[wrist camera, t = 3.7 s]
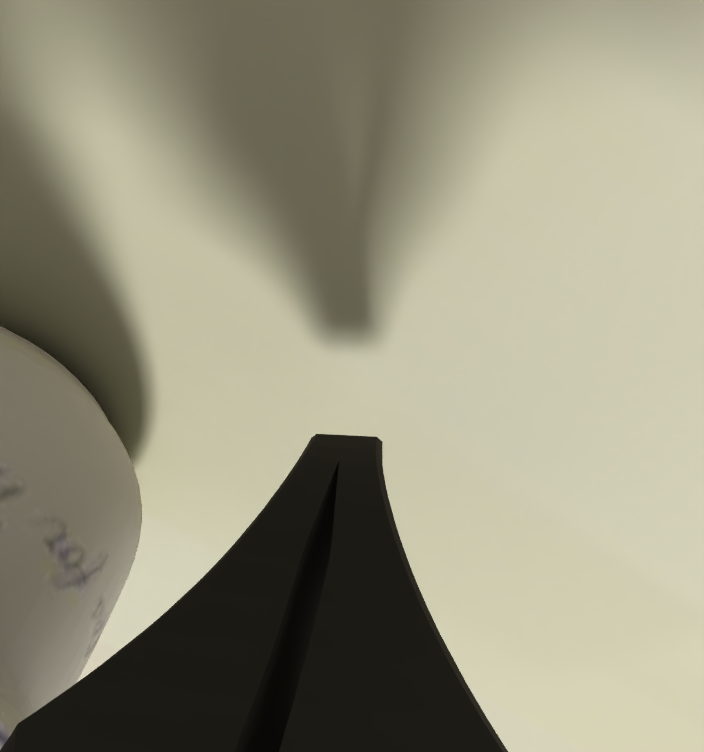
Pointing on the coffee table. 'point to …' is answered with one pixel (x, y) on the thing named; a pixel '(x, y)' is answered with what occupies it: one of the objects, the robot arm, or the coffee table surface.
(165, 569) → the coffee table surface
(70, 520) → the teacup
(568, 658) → the coffee table surface
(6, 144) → the coffee table surface
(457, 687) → the robot arm
